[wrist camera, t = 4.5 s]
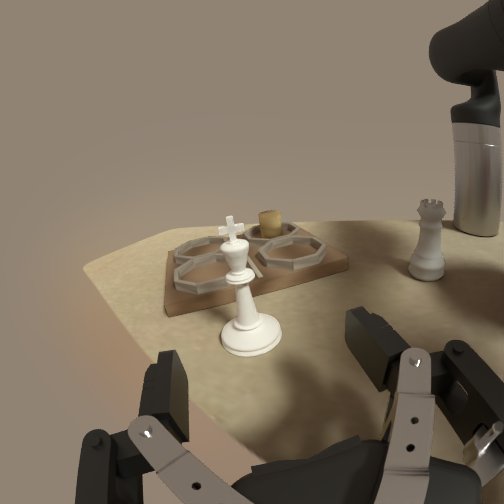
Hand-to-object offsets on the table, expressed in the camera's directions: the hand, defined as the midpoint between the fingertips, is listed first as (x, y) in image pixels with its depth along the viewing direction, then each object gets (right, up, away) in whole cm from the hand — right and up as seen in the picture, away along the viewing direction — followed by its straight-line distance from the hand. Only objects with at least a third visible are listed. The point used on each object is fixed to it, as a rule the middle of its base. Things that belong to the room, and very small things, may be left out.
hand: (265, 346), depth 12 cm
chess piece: (-1, -3, +10) cm, 10 cm away
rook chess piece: (+19, +2, +14) cm, 23 cm away
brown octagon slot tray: (-1, +3, +23) cm, 23 cm away
